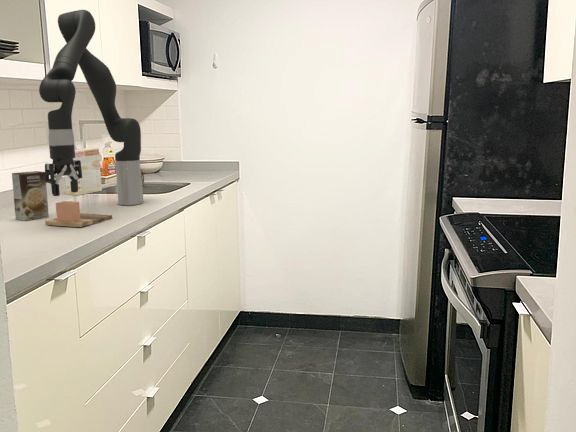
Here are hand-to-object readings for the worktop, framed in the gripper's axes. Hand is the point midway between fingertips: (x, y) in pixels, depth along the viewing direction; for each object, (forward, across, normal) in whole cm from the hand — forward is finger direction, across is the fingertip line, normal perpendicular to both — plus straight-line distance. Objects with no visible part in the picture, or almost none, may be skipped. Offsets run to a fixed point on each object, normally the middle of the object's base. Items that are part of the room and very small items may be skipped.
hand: (65, 194), depth 190 cm
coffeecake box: (+10, -61, -43) cm, 76 cm away
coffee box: (+10, -6, -21) cm, 24 cm away
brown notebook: (+10, -9, 0) cm, 13 cm away
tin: (+10, -82, -30) cm, 87 cm away
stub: (+10, 0, 0) cm, 10 cm away
